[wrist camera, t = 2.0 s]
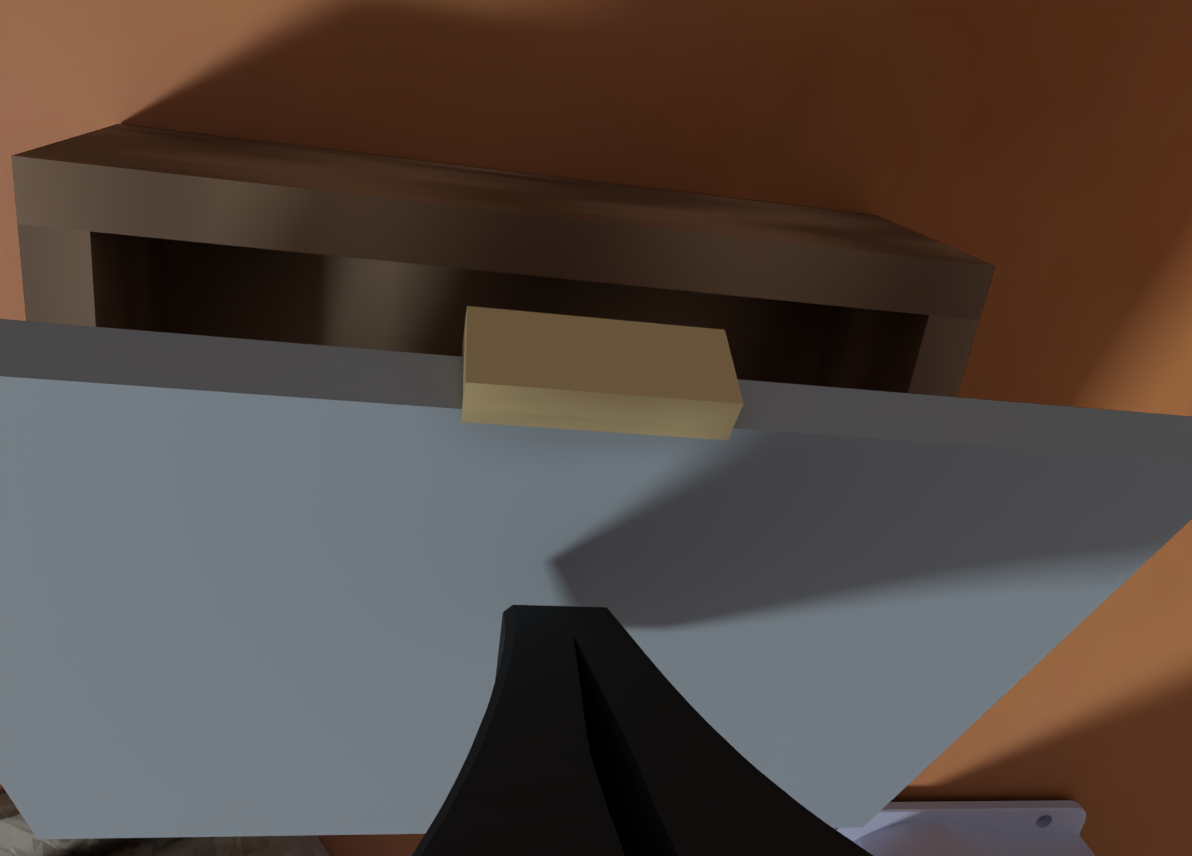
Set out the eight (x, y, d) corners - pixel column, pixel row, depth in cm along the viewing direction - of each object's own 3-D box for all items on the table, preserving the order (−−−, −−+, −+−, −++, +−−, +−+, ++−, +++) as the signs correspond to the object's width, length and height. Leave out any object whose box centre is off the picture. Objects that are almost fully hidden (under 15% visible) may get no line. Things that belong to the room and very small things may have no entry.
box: (877, 215, 21) (995, 266, 17) (769, 655, 26) (839, 789, 21) (118, 124, 18) (11, 155, 14) (142, 640, 23) (69, 794, 18)
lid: (1219, 375, 12) (1271, 444, 12) (848, 773, 22) (862, 827, 21) (-237, 240, 9) (-307, 324, 8) (57, 775, 18) (37, 839, 18)
